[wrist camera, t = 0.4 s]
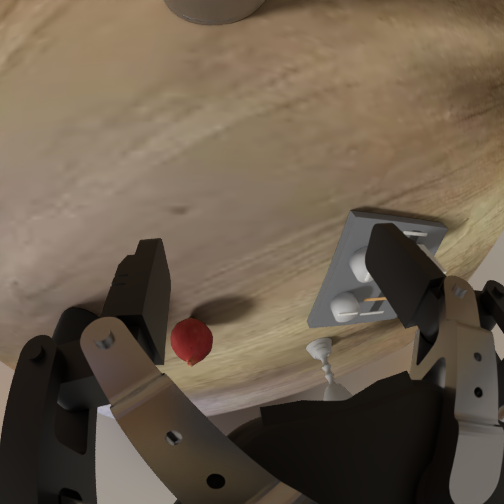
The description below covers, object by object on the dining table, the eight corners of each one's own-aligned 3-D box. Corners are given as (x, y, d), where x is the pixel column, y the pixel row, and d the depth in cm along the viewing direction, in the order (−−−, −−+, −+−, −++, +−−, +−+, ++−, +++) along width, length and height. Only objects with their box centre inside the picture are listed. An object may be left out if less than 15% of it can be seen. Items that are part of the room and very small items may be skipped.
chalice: (294, 355, 49) (318, 442, 35) (311, 334, 45) (341, 429, 31) (326, 354, 51) (352, 434, 37) (343, 335, 47) (376, 420, 33)
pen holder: (51, 318, 35) (34, 368, 27) (76, 296, 33) (56, 354, 25) (92, 346, 40) (83, 395, 33) (122, 330, 38) (113, 386, 30)
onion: (218, 313, 38) (222, 361, 32) (200, 334, 41) (202, 379, 35) (181, 301, 36) (179, 351, 29) (166, 323, 38) (163, 370, 32)
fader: (400, 242, 32) (424, 272, 28) (423, 244, 33) (446, 271, 29) (394, 255, 34) (416, 285, 29) (417, 255, 35) (439, 283, 30)
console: (350, 210, 31) (365, 229, 27) (442, 223, 34) (458, 238, 31) (306, 320, 42) (313, 341, 39) (392, 312, 46) (401, 328, 43)
